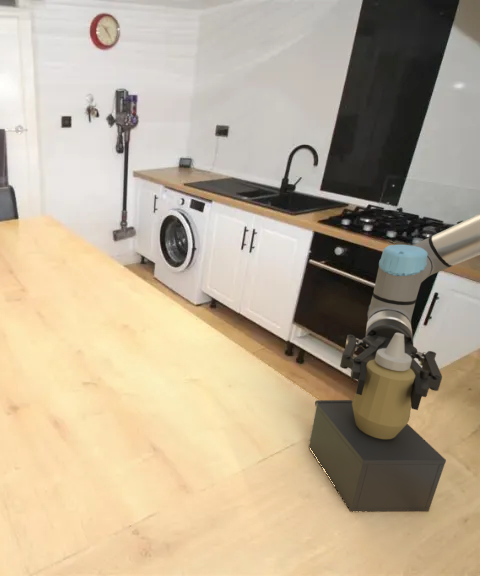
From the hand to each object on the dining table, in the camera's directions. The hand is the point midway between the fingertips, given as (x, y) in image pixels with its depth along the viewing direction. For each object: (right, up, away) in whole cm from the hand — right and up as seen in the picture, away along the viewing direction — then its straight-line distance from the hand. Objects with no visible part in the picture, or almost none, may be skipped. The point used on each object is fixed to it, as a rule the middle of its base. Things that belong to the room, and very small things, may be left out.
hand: (387, 394), depth 63 cm
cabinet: (+3, -18, +11) cm, 21 cm away
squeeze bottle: (+3, -8, +7) cm, 11 cm away
